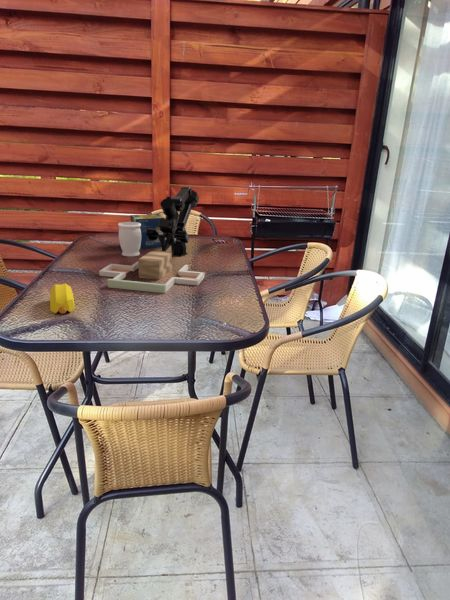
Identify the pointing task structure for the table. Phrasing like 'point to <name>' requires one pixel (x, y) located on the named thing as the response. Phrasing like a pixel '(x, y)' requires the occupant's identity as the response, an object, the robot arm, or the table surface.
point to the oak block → (155, 264)
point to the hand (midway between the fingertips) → (163, 252)
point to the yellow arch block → (61, 299)
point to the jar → (130, 238)
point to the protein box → (147, 222)
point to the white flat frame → (122, 270)
